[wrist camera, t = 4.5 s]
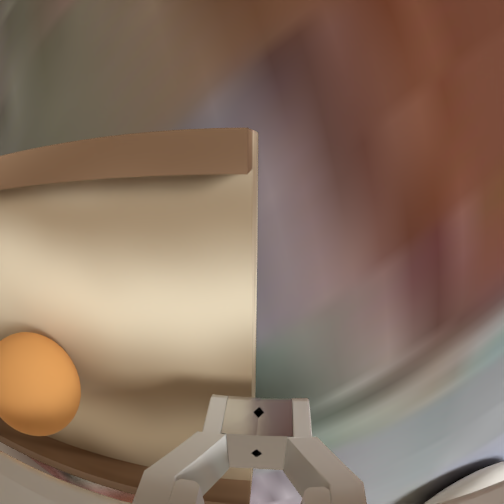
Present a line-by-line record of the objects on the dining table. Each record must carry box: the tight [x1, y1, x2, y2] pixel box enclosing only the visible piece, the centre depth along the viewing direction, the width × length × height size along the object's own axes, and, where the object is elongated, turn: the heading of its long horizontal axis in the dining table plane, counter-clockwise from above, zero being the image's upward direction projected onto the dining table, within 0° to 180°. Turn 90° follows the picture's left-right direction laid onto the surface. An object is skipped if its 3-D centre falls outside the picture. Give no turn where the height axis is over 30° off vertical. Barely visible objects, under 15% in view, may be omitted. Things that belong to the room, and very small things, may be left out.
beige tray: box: [0, 128, 258, 504], centre depth 12 cm, size 16×24×4 cm, turn 90°
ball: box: [0, 332, 81, 436], centre depth 9 cm, size 4×4×4 cm
